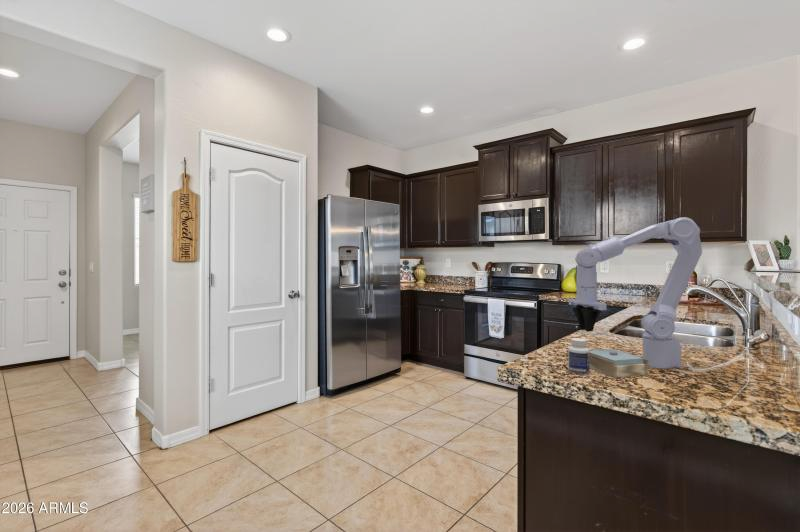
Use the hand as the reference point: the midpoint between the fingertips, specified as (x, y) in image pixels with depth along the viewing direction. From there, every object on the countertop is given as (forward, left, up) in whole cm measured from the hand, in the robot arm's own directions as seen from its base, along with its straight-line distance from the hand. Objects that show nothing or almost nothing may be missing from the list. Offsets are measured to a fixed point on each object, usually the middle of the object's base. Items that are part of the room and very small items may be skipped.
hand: (586, 330), depth 119 cm
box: (0, +11, -10) cm, 15 cm away
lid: (0, +11, -6) cm, 13 cm away
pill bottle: (+10, +10, -10) cm, 18 cm away
